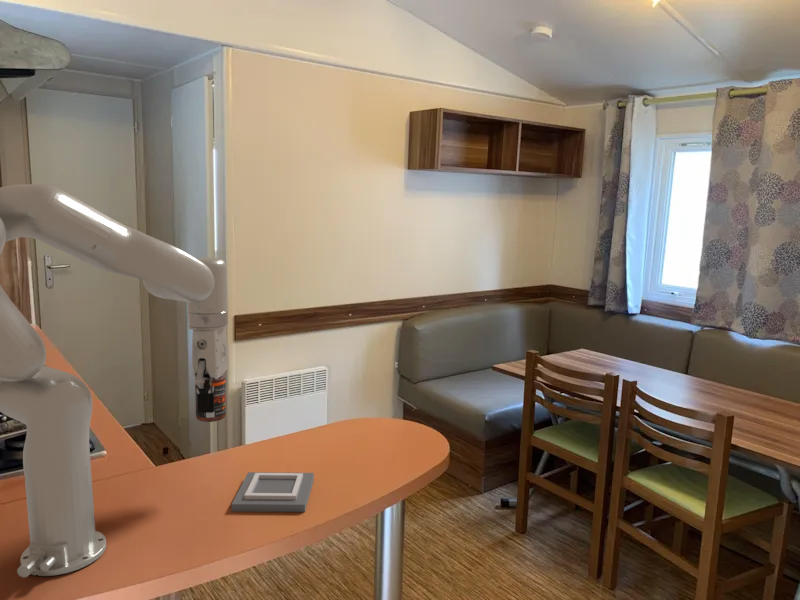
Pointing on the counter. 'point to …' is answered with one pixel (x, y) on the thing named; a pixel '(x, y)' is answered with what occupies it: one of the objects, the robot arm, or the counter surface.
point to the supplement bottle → (219, 401)
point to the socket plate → (274, 492)
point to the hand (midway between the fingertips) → (210, 405)
